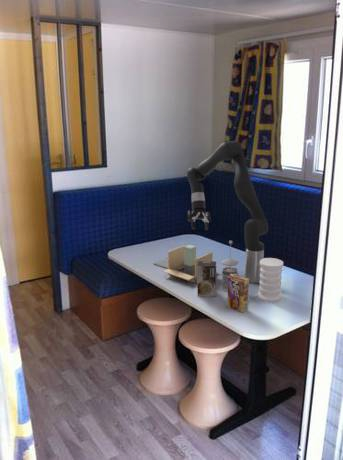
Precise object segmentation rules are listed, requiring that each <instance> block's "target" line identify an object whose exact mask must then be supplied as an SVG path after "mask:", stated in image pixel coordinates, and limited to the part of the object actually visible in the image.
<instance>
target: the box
mask: <svg viewBox="0 0 343 460" xmlns="http://www.w3.org/2000/svg"><path fill="white" fill-rule="evenodd" d="M195 259H197V246H196V245H192V244H188V245H186V246H185V247H184V268H183V273H185V274H188V275H191V276H195Z"/></svg>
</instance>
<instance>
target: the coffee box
mask: <svg viewBox="0 0 343 460" xmlns="http://www.w3.org/2000/svg"><path fill="white" fill-rule="evenodd" d="M216 266H217V261H213V260H212V261H198V264H197V283H196V284H197V288H196V289H197V293H196V295H197V297H212V298H213V297H214V298H215V297H216V298H217V267H216Z"/></svg>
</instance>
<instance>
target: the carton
mask: <svg viewBox="0 0 343 460" xmlns="http://www.w3.org/2000/svg"><path fill="white" fill-rule="evenodd" d="M185 246H187V245H186V244H184V245H182V246H178V247H176V248H173V249H170V250H168V251H167V258H168V269H164V270H162V272H163V273H166V274H168V275H171V276H173V277H177V278H179V279H183V280H185V281H189V282H191V283H195V284H197V264H198V261H213V252H212V251H210V252H209V253H206V254H203V255H202V256H199V257H196V259H195V275H193V276H191V275H188V274H185V273H184V272H182V271H181V272H180V270H181V269H182V270H183V269H184V247H185ZM217 267H218V266H217V265H216V268H217Z"/></svg>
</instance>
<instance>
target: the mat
mask: <svg viewBox="0 0 343 460" xmlns="http://www.w3.org/2000/svg"><path fill="white" fill-rule="evenodd" d="M152 264H153V265H155V266H157V267H161V268H164V269H165V270H167V269H168V257H166V258H164V259H161V260H158V261H156V262H155V261H154V262H153V263H152Z"/></svg>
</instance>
